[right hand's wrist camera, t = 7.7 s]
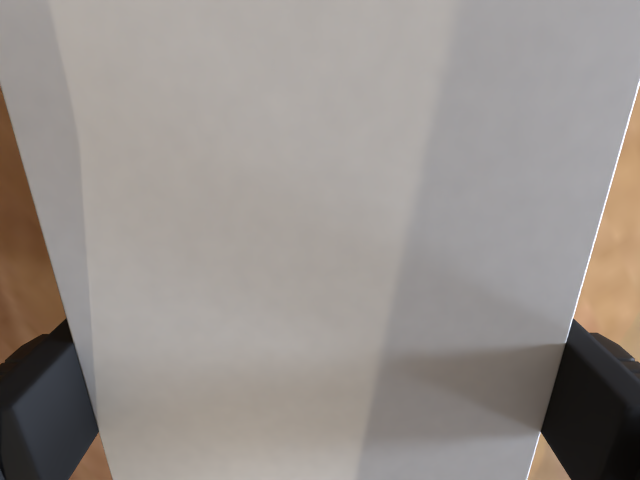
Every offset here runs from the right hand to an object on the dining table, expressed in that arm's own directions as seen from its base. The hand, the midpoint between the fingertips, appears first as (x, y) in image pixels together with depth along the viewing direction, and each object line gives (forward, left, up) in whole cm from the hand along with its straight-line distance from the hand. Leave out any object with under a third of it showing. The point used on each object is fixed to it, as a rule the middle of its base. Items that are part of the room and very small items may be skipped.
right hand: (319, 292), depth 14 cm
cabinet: (+1, -6, -4) cm, 7 cm away
